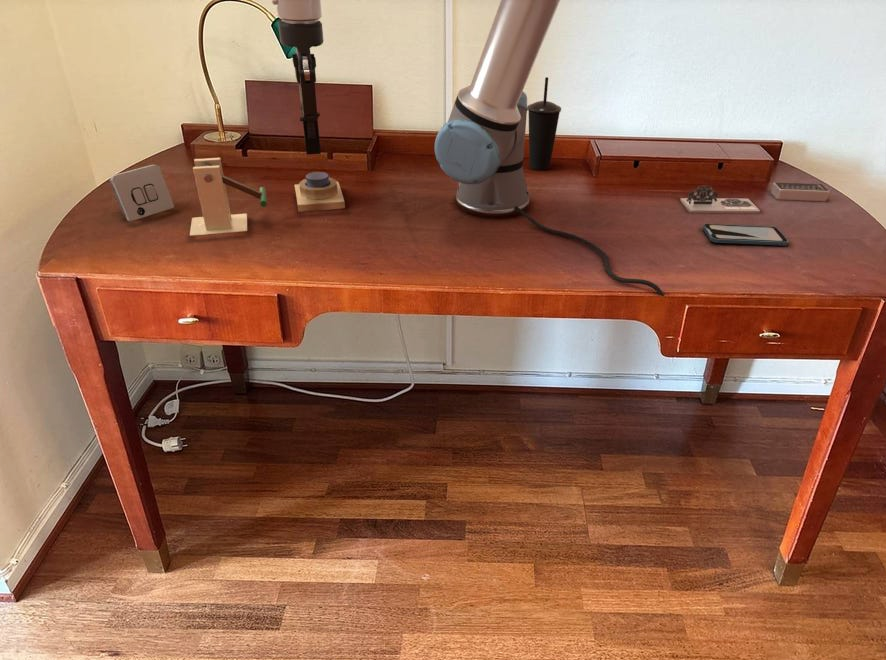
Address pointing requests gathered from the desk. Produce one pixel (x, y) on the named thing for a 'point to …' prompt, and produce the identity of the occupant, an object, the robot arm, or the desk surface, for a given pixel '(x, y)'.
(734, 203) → the car cutout
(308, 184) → the button
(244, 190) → the lever
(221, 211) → the switch bracket
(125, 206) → the electrical switch
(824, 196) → the multiport hub
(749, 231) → the smartphone
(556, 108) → the drinking cup
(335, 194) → the button box
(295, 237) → the desk surface
